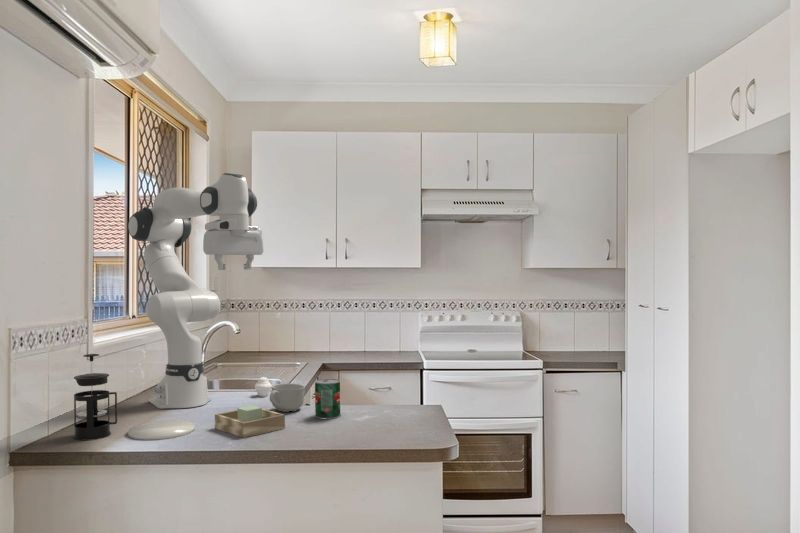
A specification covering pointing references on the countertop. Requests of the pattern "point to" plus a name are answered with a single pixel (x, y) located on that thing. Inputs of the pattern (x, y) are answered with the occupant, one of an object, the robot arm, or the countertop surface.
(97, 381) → the french press
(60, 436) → the countertop surface
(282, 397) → the teacup
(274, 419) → the wooden frame
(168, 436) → the white round dish
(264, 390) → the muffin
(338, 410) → the canned tomato
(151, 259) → the robot arm
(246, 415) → the block
